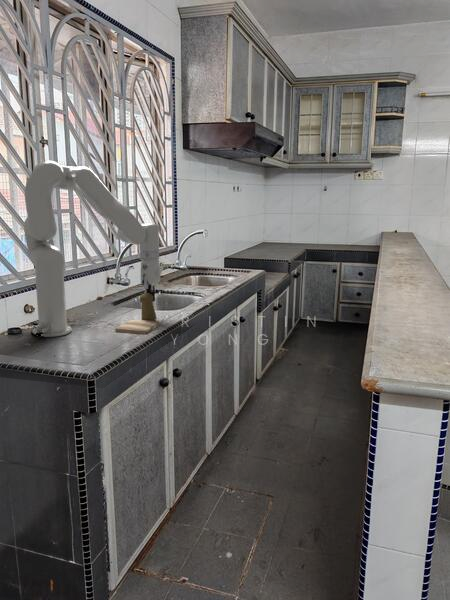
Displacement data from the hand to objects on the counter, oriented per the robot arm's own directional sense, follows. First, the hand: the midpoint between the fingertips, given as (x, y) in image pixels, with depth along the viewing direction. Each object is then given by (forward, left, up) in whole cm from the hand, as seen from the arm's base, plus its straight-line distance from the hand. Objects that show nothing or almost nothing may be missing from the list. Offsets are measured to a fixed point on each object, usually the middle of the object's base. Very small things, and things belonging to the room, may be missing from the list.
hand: (150, 301), depth 195 cm
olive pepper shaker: (-2, 0, -7) cm, 7 cm away
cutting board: (-13, 0, -8) cm, 15 cm away
